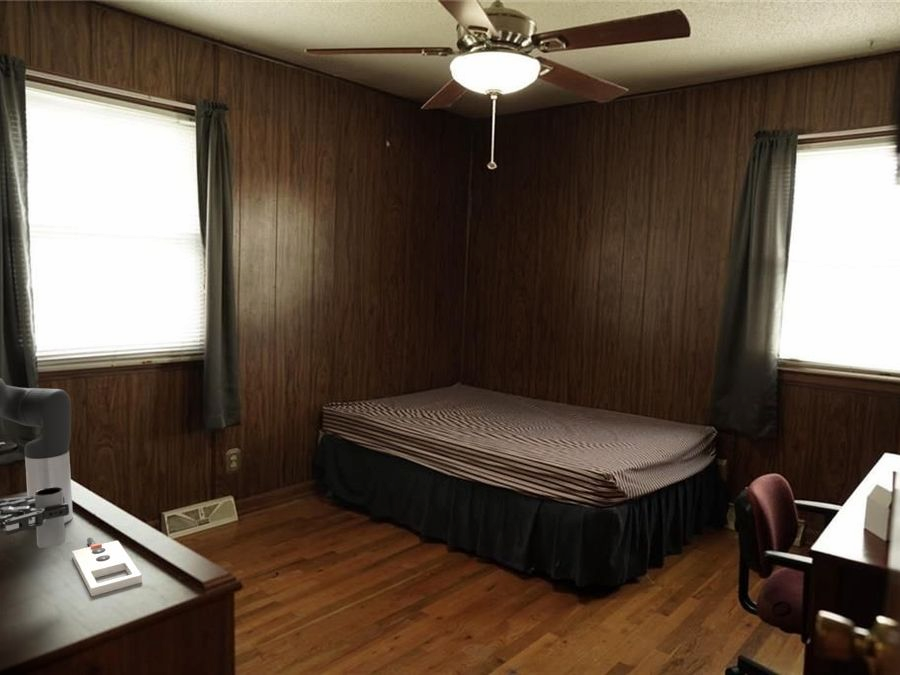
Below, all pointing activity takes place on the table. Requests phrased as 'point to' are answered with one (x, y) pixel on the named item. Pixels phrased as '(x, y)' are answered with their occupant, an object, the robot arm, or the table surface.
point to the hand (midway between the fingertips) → (65, 504)
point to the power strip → (105, 566)
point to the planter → (54, 527)
